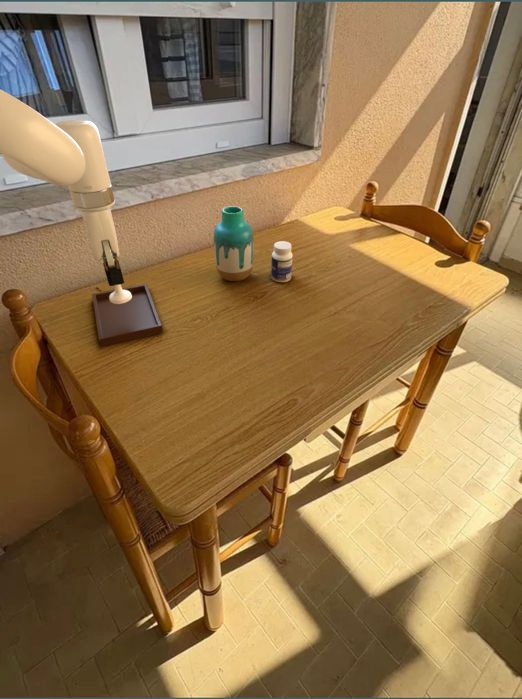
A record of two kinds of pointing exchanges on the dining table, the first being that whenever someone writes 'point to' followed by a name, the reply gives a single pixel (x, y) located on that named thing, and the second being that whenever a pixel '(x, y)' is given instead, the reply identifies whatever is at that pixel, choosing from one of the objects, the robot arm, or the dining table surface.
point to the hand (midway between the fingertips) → (115, 280)
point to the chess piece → (120, 295)
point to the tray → (126, 316)
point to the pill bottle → (281, 262)
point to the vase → (233, 245)
